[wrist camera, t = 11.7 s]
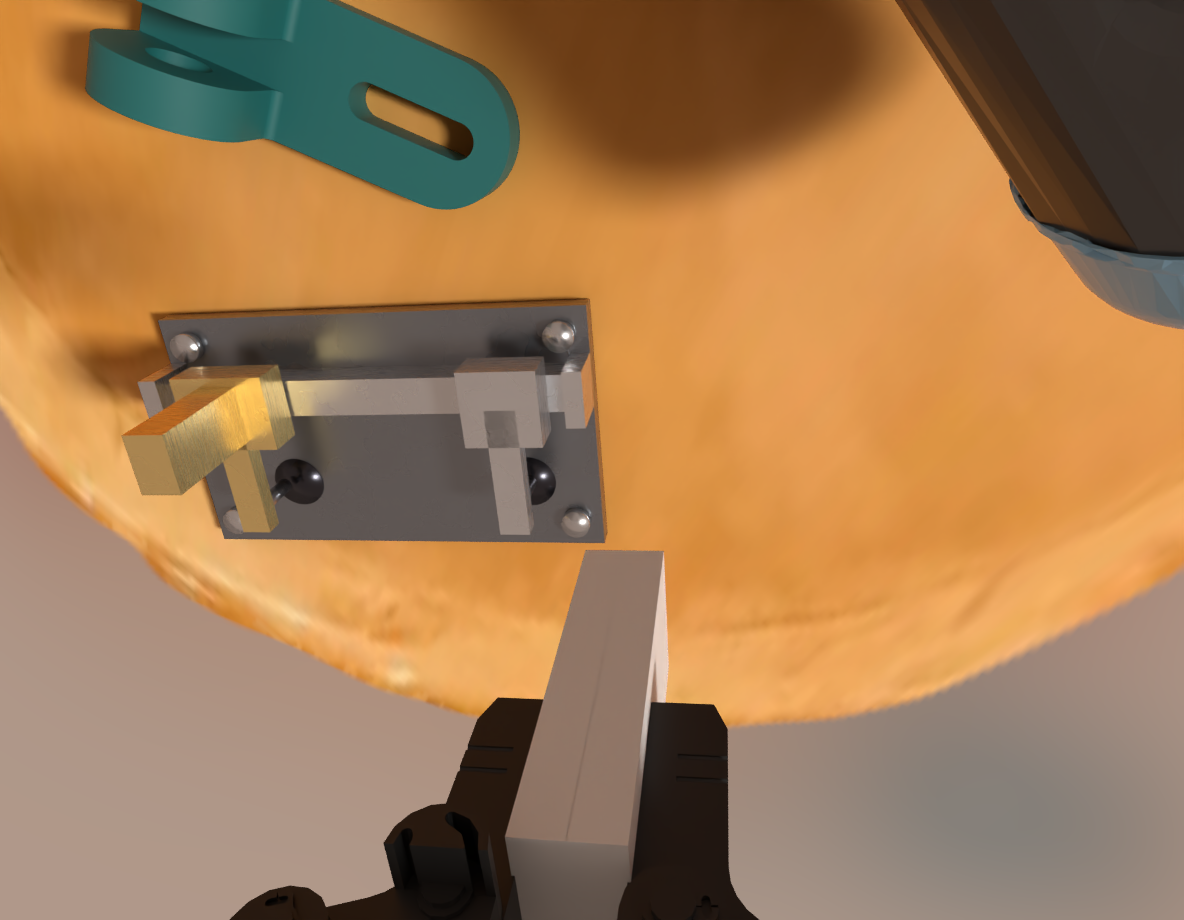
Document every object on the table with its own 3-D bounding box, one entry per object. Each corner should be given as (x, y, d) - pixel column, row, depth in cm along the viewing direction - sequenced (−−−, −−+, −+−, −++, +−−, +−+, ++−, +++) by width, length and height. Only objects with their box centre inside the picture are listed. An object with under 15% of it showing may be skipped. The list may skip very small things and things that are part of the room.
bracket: (162, 79, 41) (47, 82, 34) (181, -70, 38) (59, -100, 31) (495, 223, 42) (449, 255, 35) (539, 88, 39) (499, 94, 32)
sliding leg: (209, 356, 45) (87, 425, 37) (293, 353, 45) (189, 424, 36) (250, 499, 49) (148, 593, 40) (328, 499, 48) (241, 595, 40)
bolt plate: (170, 314, 46) (151, 323, 45) (589, 298, 43) (584, 308, 41) (234, 529, 52) (219, 543, 51) (607, 532, 49) (603, 548, 47)
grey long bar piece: (168, 355, 46) (119, 380, 42) (589, 343, 42) (576, 370, 39) (211, 496, 50) (170, 531, 46) (601, 497, 46) (590, 535, 42)
